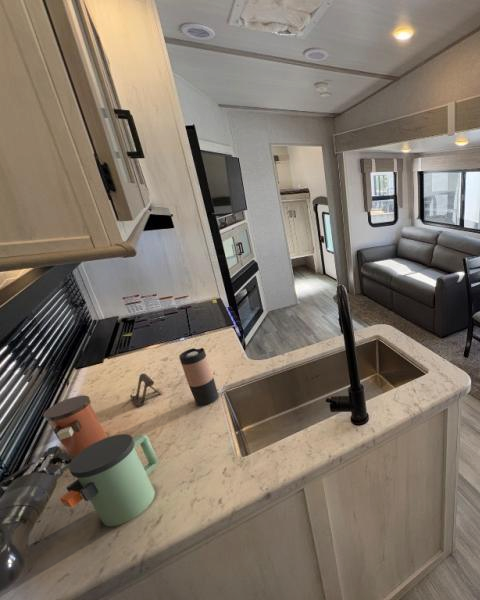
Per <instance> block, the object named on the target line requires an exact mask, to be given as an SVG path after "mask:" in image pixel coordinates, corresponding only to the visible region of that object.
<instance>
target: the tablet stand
mask: <svg viewBox="0 0 480 600" xmlns="http://www.w3.org/2000/svg"><path fill="white" fill-rule="evenodd" d="M142 382H143V383H144V384H143V385H144V386H143V391H142V392H143V393H142V397H141V398H140V391H141V386H142ZM154 383H155V382H154V380H153V379H152V378H151V377H150V376H149V375H148V374H147V373H141V374H139V377H138V382H137V388H136V394H135V395H133V394H129V398H130V399H131V401H133V403H134V404H135V405H136V407H138V408H141V407H143V406H144V404H145V401H146V395H147V389H148V388H150V389H152V390H153V391H155V392H156V393H157V394H158V395H162V393H161V392H160V391H159V390H158V389H156V388H155V387H154V386H153V385H154Z"/></svg>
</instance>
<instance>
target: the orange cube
mask: <svg viewBox="0 0 480 600" xmlns="http://www.w3.org/2000/svg"><path fill="white" fill-rule="evenodd" d="M59 500H60V502H61V504H62V505H63V506H64V507H69V508H74V507H75V506H76V505H77V504H78V503H79V502H81V501H82V500H84V498H83V497H82V495H81V494H80V493H79V492H77V491H73V490H71V491H69V492H68V491H67V492H66V493H65V494H64V495H62V496H61V497H60V498H59Z"/></svg>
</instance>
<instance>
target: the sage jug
mask: <svg viewBox="0 0 480 600" xmlns="http://www.w3.org/2000/svg"><path fill="white" fill-rule="evenodd" d="M138 446H140V447H141V449H142V451H143V453H144V456H145V458H146V460H147V462H148V463H147V464H146V465H145V466H144V465H143V463H142V461H141V459H140V457H139V454H138V453H137V451H136V448H137V447H138ZM158 463H159V459H158V457H157V455H156V452H155V450H154V448H153V446H152V443H151V441H150V439H149V437H148V435H146V434H137V435H136V436H135V437H134V438H133V437H132V435H130V434H125V433H121V434H113V435H111V436H107V438H105V439H102V440H100V441H98V442H96V443H94V444H92V445H90V446H89V447H87V448H85V449H84V450H83V451H81V452H80V453H79V454H78V455H77V456H75V457H74V459H73V460H72V461H71V463H70V465H69V468H68V471H69V473H70V474H71V475H72V477H74V478H76V480H74V481H73V482H71V483H70V484H69V485H68V486H66V487H65V489H66V490H67V493H68V492H69V491H71V490H73V491H77V492H79V493H80V494H81V496H82V498H83V500H84V501H85V502H89V501H90V503H91V504H92V506H93V508H94V510H95V512H96V513H97V515H98V516H99V518H100V520H101V522H102V523H103V525H104V526H107V527H117V526H120V525H124V524H125V523H128V522H130V521H132V520H133V519H135V518H136V517H138V516H139V515H141V514H142V513H143V512H144V511H145V510H146V509H147V508H148V507H150V505H151V503H152V502H153V500H154V498H155V495H156V494H155V493H156V492H155V489H154V486H153V483H152V482H151V480H150V478H149V476H148V475H149V474H150V473H151V472H153V471H154V470H155V469H156V468H157V467H158Z"/></svg>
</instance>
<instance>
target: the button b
mask: <svg viewBox="0 0 480 600" xmlns="http://www.w3.org/2000/svg"><path fill="white" fill-rule="evenodd" d="M73 433H74V431H73V429H72V427H68V428H65V429H61V430H59V432H58V433H57V436H58V437H59V439H60V440H62V439H65V438H68V437H71V436H72V435H73ZM57 436H56V437H57ZM59 439H58V440H59Z"/></svg>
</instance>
